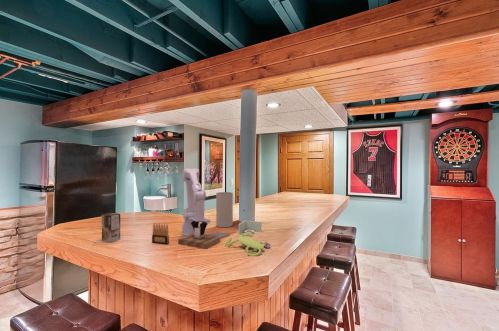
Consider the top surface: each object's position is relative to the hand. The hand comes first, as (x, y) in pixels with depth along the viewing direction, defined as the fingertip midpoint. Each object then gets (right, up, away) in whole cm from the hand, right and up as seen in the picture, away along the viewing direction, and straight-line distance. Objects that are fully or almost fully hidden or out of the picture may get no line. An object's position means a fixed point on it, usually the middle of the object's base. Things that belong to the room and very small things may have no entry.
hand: (199, 234), depth 144 cm
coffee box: (-55, -5, +5) cm, 56 cm away
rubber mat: (+10, -5, +15) cm, 19 cm away
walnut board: (0, -5, 0) cm, 5 cm away
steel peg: (0, -4, 0) cm, 4 cm away
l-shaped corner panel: (+30, -6, +21) cm, 38 cm away
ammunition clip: (-23, -5, -1) cm, 23 cm away
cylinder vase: (+11, -5, +42) cm, 43 cm away
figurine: (+29, -6, -7) cm, 30 cm away
